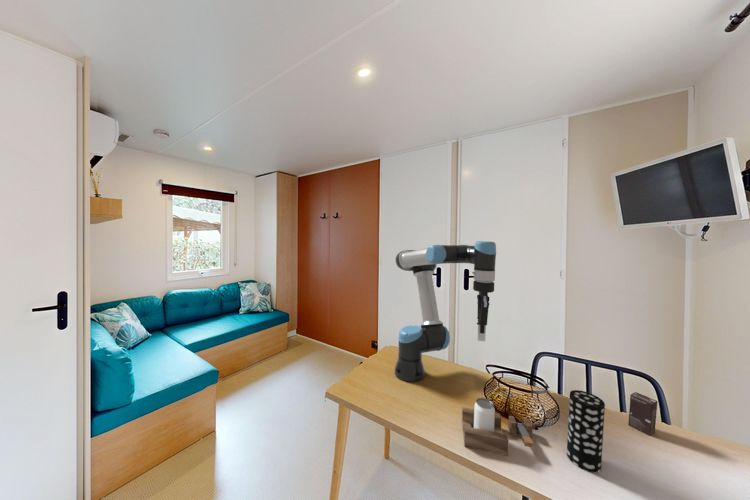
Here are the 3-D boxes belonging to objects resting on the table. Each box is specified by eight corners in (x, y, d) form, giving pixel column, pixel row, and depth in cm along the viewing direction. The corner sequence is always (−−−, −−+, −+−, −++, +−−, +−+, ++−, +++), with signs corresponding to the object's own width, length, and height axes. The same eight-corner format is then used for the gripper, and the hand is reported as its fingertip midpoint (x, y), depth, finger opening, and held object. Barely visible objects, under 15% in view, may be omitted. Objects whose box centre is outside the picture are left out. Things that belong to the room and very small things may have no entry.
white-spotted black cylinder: (591, 476, 74) (595, 410, 73) (560, 454, 81) (563, 393, 80) (607, 466, 77) (610, 403, 76) (576, 446, 85) (579, 387, 84)
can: (495, 445, 84) (497, 410, 84) (475, 442, 86) (476, 407, 85) (491, 431, 91) (492, 398, 90) (472, 428, 92) (473, 395, 91)
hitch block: (461, 417, 97) (462, 405, 97) (528, 430, 91) (529, 417, 91) (464, 446, 84) (465, 431, 83) (543, 463, 78) (543, 448, 77)
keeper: (515, 426, 91) (515, 421, 91) (523, 427, 90) (523, 422, 91) (524, 447, 81) (524, 441, 81) (533, 448, 80) (534, 443, 80)
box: (627, 425, 95) (629, 394, 94) (633, 421, 97) (635, 391, 96) (650, 436, 89) (652, 403, 89) (655, 433, 91) (658, 400, 91)
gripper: (471, 277, 106) (469, 333, 107) (475, 283, 93) (472, 345, 94) (491, 278, 104) (488, 335, 105) (497, 284, 91) (494, 348, 92)
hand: (481, 340), depth 100 cm, fingers closed
